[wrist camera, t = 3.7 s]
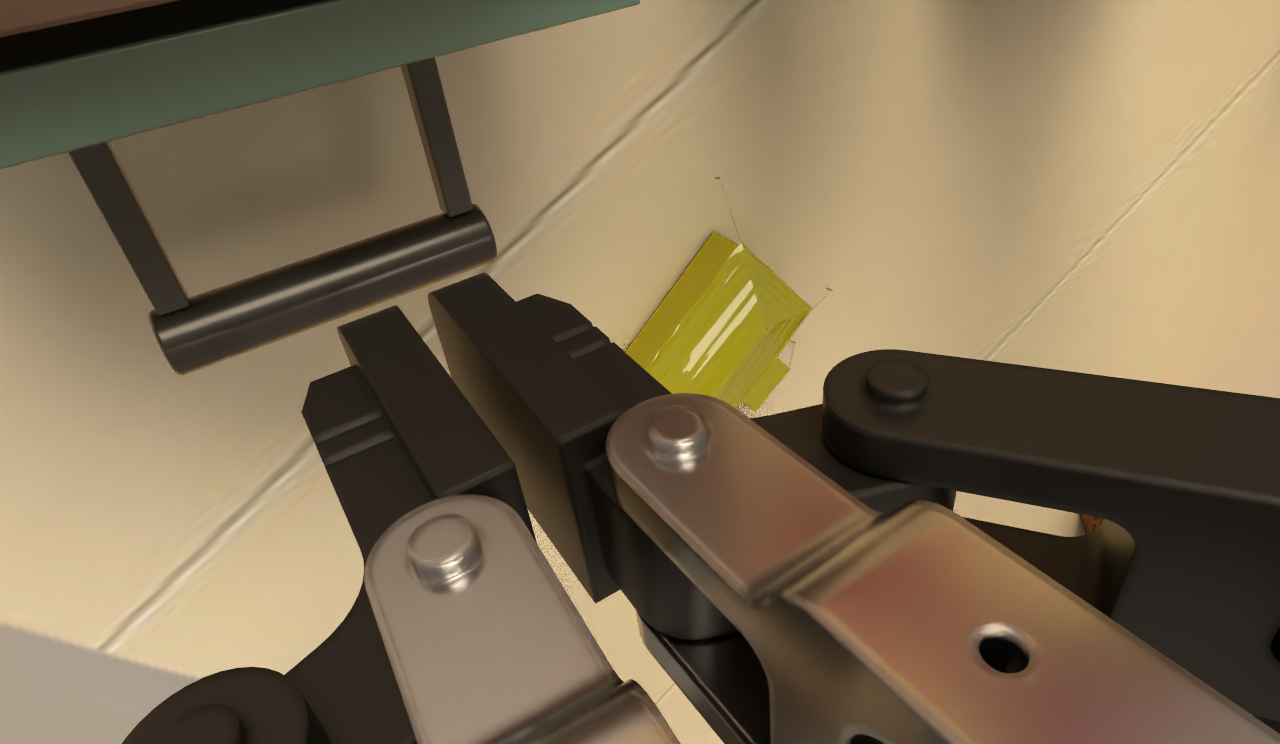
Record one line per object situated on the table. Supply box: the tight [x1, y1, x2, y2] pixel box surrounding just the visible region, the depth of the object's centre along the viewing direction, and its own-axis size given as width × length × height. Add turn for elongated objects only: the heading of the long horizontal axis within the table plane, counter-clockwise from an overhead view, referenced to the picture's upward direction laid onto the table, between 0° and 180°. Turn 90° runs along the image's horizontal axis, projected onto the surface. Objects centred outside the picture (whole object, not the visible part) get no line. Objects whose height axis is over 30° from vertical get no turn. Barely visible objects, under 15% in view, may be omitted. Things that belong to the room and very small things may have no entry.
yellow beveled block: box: [625, 177, 833, 411], centre depth 31 cm, size 10×9×3 cm
